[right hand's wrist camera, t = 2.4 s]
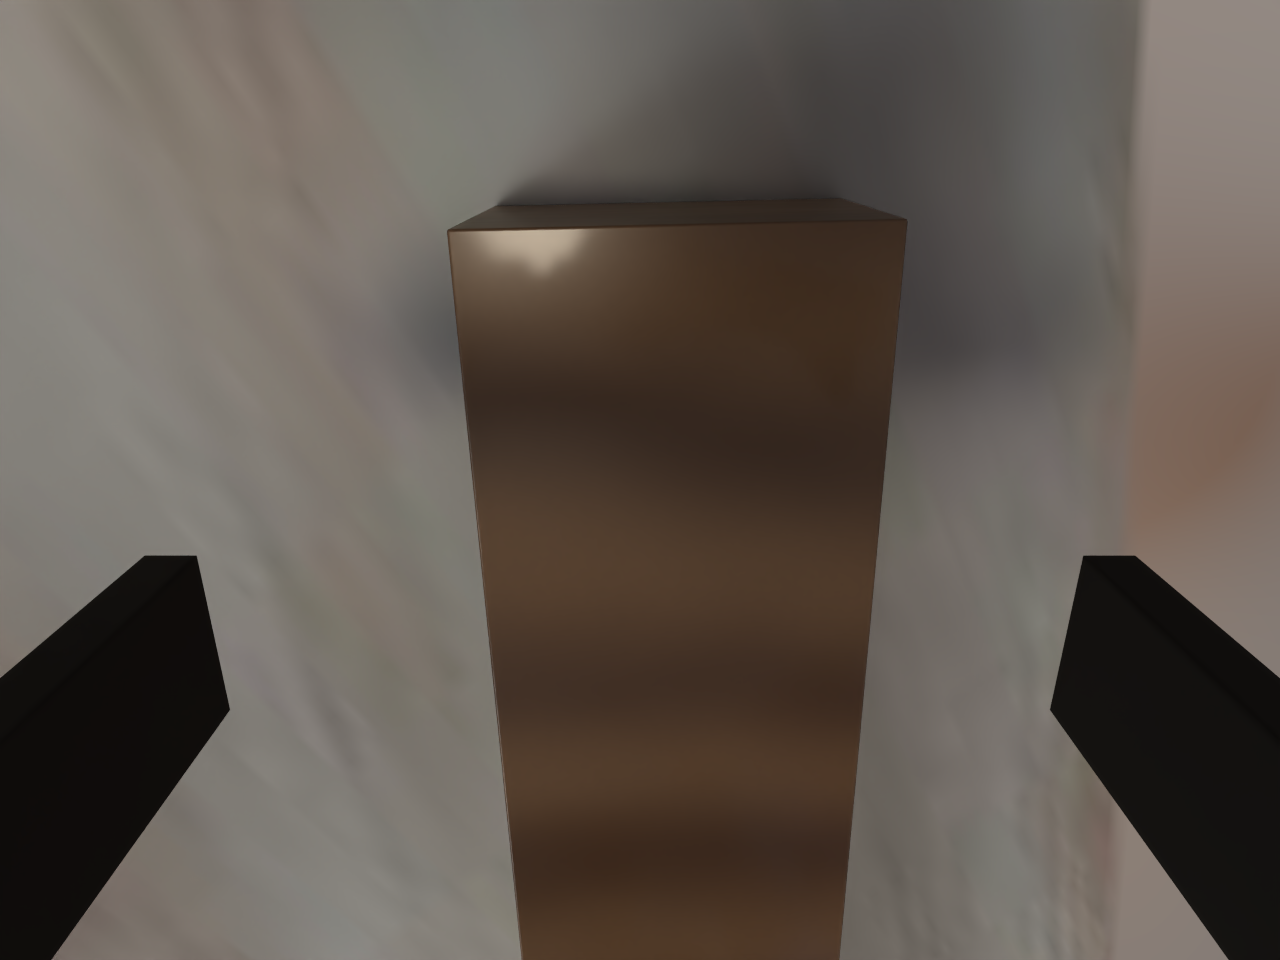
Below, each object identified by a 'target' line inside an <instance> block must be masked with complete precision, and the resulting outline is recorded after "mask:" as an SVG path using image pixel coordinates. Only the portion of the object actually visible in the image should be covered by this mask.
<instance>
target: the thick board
mask: <svg viewBox="0 0 1280 960" xmlns="http://www.w3.org/2000/svg"><path fill="white" fill-rule="evenodd" d="M906 231H907V219H904V218H901V217H898V216H895V215H892V214H889V213H885V212H882V211H879V210H876V209H873V208H870V207H867V206H864V205H861V204H857V203H854V202H851V201H848V200H845V199H842V198H830V199H786V200H741V201H697V202H652V203H608V204H563V205H519V206H494V207H492V208H490V209H488V210H486V211H484V212H482V213H480V214H478V215H476V216H474V217H472V218H470V219H468V220H466V221H464V222H462V223H460V224H458V225H456V226H454V227H452V228H450V229H448V231H447V236H448V246H449V256H450V265H451V275H452V285H453V295H454V304H455V314H456V324H457V334H458V343H459V353H460V363H461V372H462V382H463V392H464V402H465V411H466V421H467V431H468V441H469V450H470V460H471V470H472V480H473V489H474V499H475V509H476V519H477V528H478V538H479V548H480V558H481V567H482V577H483V587H484V597H485V606H486V616H487V626H488V636H489V645H490V655H491V665H492V674H493V684H494V694H495V704H496V713H497V723H498V733H499V743H500V752H501V762H502V772H503V782H504V791H505V801H506V811H507V821H508V830H509V840H510V850H511V860H512V869H513V879H514V889H515V899H516V908H517V918H518V928H519V938H520V947H521V957H522V960H839V956H840V946H841V935H842V924H843V913H844V902H845V892H846V881H847V870H848V859H849V848H850V837H851V827H852V816H853V805H854V794H855V783H856V773H857V762H858V751H859V740H860V729H861V718H862V708H863V697H864V686H865V675H866V664H867V653H868V643H869V632H870V621H871V610H872V599H873V589H874V578H875V567H876V556H877V545H878V534H879V524H880V513H881V502H882V491H883V480H884V469H885V459H886V448H887V437H888V426H889V415H890V405H891V394H892V383H893V372H894V361H895V350H896V340H897V329H898V318H899V307H900V296H901V286H902V275H903V264H904V253H905V242H906Z"/></svg>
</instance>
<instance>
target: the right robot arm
mask: <svg viewBox="0 0 1280 960" xmlns="http://www.w3.org/2000/svg"><path fill="white" fill-rule="evenodd" d="M229 710H230V708H229V703H228V698H227V694H226V689H225V685H224V680H223V675H222V671H221V666H220V661H219V657H218V652H217V648H216V643H215V638H214V634H213V629H212V625H211V620H210V615H209V611H208V606H207V601H206V597H205V592H204V588H203V583H202V578H201V574H200V569H199V565H198V560H197V556H144V557H143V558H142V559H140V560H139V561H138V562H137V563H136V564H134V565H133V566H132V567H131V568H130V569H129V570H127V571H126V572H125V573H124V574H123V575H121V576H120V577H119V578H118V579H117V580H116V581H114V582H113V583H112V584H111V585H110V586H108V587H107V588H106V589H105V590H104V591H103V592H101V593H100V594H99V595H98V596H97V597H95V598H94V599H93V600H92V601H91V602H90V603H88V604H87V605H86V606H85V607H84V608H83V609H81V610H80V611H79V612H78V613H77V614H75V615H74V616H73V617H72V618H71V619H70V620H68V621H67V622H66V623H65V624H64V625H62V626H61V627H60V628H59V629H58V630H57V631H55V632H54V633H53V634H52V635H51V636H49V637H48V638H47V639H46V640H45V641H44V642H42V643H41V644H40V645H39V646H38V647H36V648H35V649H34V650H33V651H32V652H31V653H29V654H28V655H27V656H26V657H25V658H23V659H22V660H21V661H20V662H19V663H18V664H16V665H15V666H14V667H13V668H12V669H11V670H9V671H8V672H7V673H6V674H5V675H3V676H2V677H1V678H0V960H51V959H52V958H53V957H54V955H55V954H56V952H57V951H58V950H59V948H60V947H61V945H62V944H63V943H64V941H65V940H66V938H67V937H68V936H69V934H70V933H71V931H72V930H73V929H74V927H75V926H76V924H77V923H78V922H79V920H80V919H81V917H82V916H83V915H84V913H85V912H86V911H87V909H88V908H89V906H90V905H91V904H92V902H93V901H94V899H95V898H96V897H97V895H98V894H99V892H100V891H101V890H102V888H103V887H104V885H105V884H106V883H107V881H108V880H109V878H110V877H111V876H112V874H113V873H114V871H115V870H116V869H117V867H118V866H119V864H120V863H121V862H122V860H123V859H124V857H125V856H126V855H127V853H128V852H129V850H130V849H131V848H132V846H133V845H134V843H135V842H136V841H137V839H138V838H139V836H140V835H141V834H142V832H143V831H144V829H145V828H146V827H147V825H148V824H149V822H150V821H151V820H152V818H153V817H154V815H155V814H156V813H157V811H158V810H159V808H160V807H161V806H162V804H163V803H164V801H165V800H166V799H167V797H168V796H169V794H170V793H171V792H172V790H173V789H174V787H175V786H176V785H177V783H178V782H179V780H180V779H181V778H182V776H183V775H184V773H185V772H186V771H187V769H188V768H189V766H190V765H191V764H192V762H193V761H194V759H195V758H196V757H197V755H198V754H199V752H200V751H201V750H202V748H203V747H204V745H205V744H206V743H207V741H208V740H209V738H210V737H211V736H212V734H213V733H214V731H215V730H216V729H217V727H218V726H219V724H220V723H221V722H222V720H223V719H224V717H225V716H226V715H227V713H228V712H229ZM1050 710H1051V712H1052V713H1053V715H1054V716H1055V717H1056V719H1057V720H1058V722H1059V723H1060V724H1061V726H1062V727H1063V729H1064V730H1065V731H1066V733H1067V734H1068V736H1069V737H1070V738H1071V740H1072V741H1073V743H1074V744H1075V745H1076V747H1077V748H1078V750H1079V751H1080V752H1081V754H1082V755H1083V757H1084V758H1085V759H1086V761H1087V762H1088V764H1089V765H1090V766H1091V768H1092V769H1093V771H1094V772H1095V773H1096V775H1097V776H1098V778H1099V779H1100V780H1101V782H1102V783H1103V785H1104V786H1105V787H1106V789H1107V790H1108V792H1109V793H1110V794H1111V796H1112V797H1113V799H1114V800H1115V801H1116V803H1117V804H1118V806H1119V807H1120V808H1121V810H1122V811H1123V813H1124V814H1125V815H1126V817H1127V818H1128V820H1129V821H1130V822H1131V824H1132V825H1133V827H1134V828H1135V829H1136V831H1137V832H1138V833H1139V835H1140V836H1141V838H1142V839H1143V841H1144V842H1145V843H1146V845H1147V846H1148V848H1149V849H1150V850H1151V852H1152V853H1153V855H1154V856H1155V857H1156V859H1157V860H1158V862H1159V863H1160V864H1161V866H1162V867H1163V869H1164V870H1165V871H1166V873H1167V874H1168V876H1169V877H1170V878H1171V880H1172V881H1173V883H1174V884H1175V885H1176V887H1177V888H1178V889H1179V891H1180V892H1181V894H1182V895H1183V896H1184V898H1185V899H1186V901H1187V902H1188V904H1189V905H1190V906H1191V908H1192V909H1193V911H1194V912H1195V913H1196V915H1197V916H1198V917H1199V919H1200V920H1201V922H1202V923H1203V924H1204V926H1205V927H1206V929H1207V930H1208V931H1209V933H1210V934H1211V936H1212V937H1213V938H1214V940H1215V941H1216V943H1217V944H1218V945H1219V947H1220V948H1221V950H1222V951H1223V952H1224V954H1225V955H1226V957H1227V958H1228V959H1229V960H1280V678H1279V677H1278V676H1277V675H1275V674H1274V673H1273V672H1272V671H1271V670H1269V669H1268V668H1267V667H1266V666H1265V665H1264V664H1262V663H1261V662H1260V661H1259V660H1258V659H1256V658H1255V657H1254V656H1253V655H1252V654H1251V653H1249V652H1248V651H1247V650H1246V649H1245V648H1244V647H1242V646H1241V645H1240V644H1239V643H1238V642H1236V641H1235V640H1234V639H1233V638H1232V637H1231V636H1229V635H1228V634H1227V633H1226V632H1225V631H1223V630H1222V629H1221V628H1220V627H1219V626H1217V625H1216V624H1215V623H1214V622H1213V621H1212V620H1210V619H1209V618H1208V617H1207V616H1206V615H1205V614H1203V613H1202V612H1201V611H1200V610H1199V609H1197V608H1196V607H1195V606H1194V605H1193V604H1192V603H1190V602H1189V601H1188V600H1187V599H1186V598H1184V597H1183V596H1182V595H1181V594H1180V593H1179V592H1177V591H1176V590H1175V589H1174V588H1173V587H1171V586H1170V585H1169V584H1168V583H1167V582H1166V581H1164V580H1163V579H1162V578H1161V577H1160V576H1159V575H1157V574H1156V573H1155V572H1154V571H1153V570H1151V569H1150V568H1149V567H1148V566H1147V565H1146V564H1144V563H1143V562H1142V561H1141V560H1140V559H1138V558H1137V557H1136V556H1083V560H1082V565H1081V569H1080V574H1079V578H1078V583H1077V588H1076V592H1075V597H1074V601H1073V606H1072V611H1071V615H1070V620H1069V625H1068V629H1067V634H1066V638H1065V643H1064V648H1063V652H1062V657H1061V661H1060V666H1059V671H1058V675H1057V680H1056V685H1055V689H1054V694H1053V698H1052V703H1051V708H1050Z"/></svg>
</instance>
